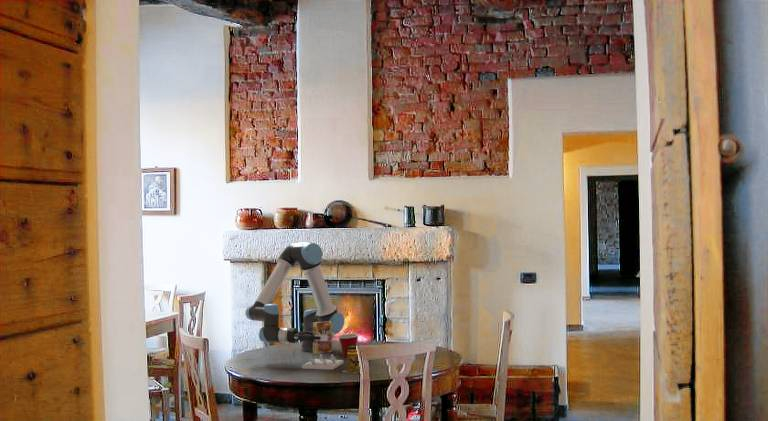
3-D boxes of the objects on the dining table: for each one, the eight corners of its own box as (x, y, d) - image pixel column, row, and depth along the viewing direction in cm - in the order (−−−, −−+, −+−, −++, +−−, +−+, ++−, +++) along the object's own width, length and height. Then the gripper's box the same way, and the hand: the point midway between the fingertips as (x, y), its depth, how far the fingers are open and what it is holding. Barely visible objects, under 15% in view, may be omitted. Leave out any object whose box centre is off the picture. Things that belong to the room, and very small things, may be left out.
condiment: (355, 373, 302) (355, 348, 302) (340, 372, 306) (340, 346, 306) (363, 370, 308) (363, 345, 309) (348, 369, 312) (348, 344, 313)
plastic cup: (336, 356, 345) (336, 334, 346) (356, 355, 348) (355, 332, 349) (340, 360, 335) (340, 337, 335) (360, 358, 338) (360, 335, 338)
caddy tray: (313, 362, 332) (313, 353, 332) (343, 363, 327) (343, 354, 327) (301, 368, 316) (301, 359, 316) (332, 369, 312) (332, 360, 312)
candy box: (316, 354, 317) (316, 323, 318) (312, 352, 321) (312, 322, 321) (332, 352, 323) (331, 321, 323) (327, 350, 326) (327, 320, 327)
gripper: (297, 339, 337) (338, 340, 331) (280, 346, 316) (322, 347, 310) (297, 325, 337) (337, 326, 332) (279, 330, 316) (322, 332, 311)
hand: (330, 336), depth 321 cm, fingers closed on candy box, 9 cm apart
